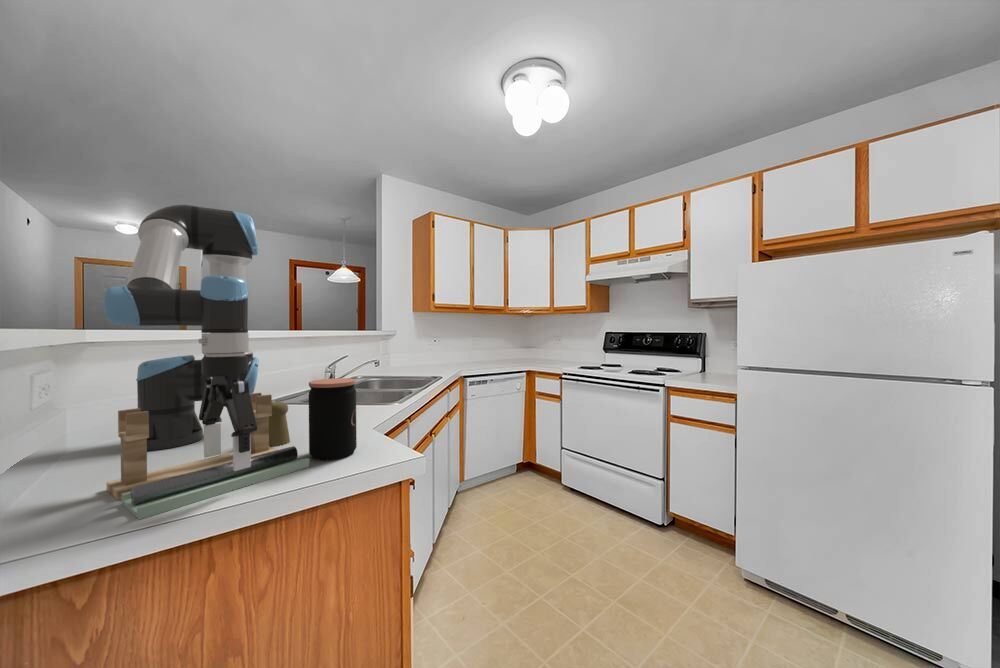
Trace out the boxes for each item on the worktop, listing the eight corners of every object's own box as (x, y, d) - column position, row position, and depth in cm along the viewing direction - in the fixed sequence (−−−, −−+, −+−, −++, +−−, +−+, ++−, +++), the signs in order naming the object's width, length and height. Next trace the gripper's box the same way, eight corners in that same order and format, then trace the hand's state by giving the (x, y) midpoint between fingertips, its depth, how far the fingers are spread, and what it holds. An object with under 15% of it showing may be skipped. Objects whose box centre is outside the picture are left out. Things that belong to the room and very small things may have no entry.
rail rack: (106, 490, 71) (105, 411, 71) (264, 450, 95) (264, 391, 95) (117, 500, 67) (116, 416, 67) (280, 456, 90) (280, 394, 90)
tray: (121, 504, 66) (121, 493, 66) (286, 458, 89) (286, 450, 89) (139, 519, 60) (138, 508, 60) (309, 466, 83) (309, 458, 83)
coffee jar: (361, 455, 91) (360, 381, 91) (312, 464, 85) (311, 385, 84) (351, 444, 99) (350, 377, 99) (306, 452, 93) (305, 380, 93)
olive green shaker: (278, 447, 98) (277, 405, 98) (258, 445, 99) (258, 404, 99) (295, 440, 104) (295, 400, 103) (276, 439, 105) (276, 400, 105)
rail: (136, 504, 62) (134, 486, 63) (131, 505, 64) (129, 487, 65) (298, 458, 85) (296, 445, 85) (291, 460, 87) (289, 447, 87)
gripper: (178, 354, 78) (180, 455, 78) (231, 358, 64) (232, 481, 64) (221, 352, 84) (222, 446, 85) (277, 356, 71) (278, 468, 71)
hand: (226, 462), depth 75 cm, fingers open, 13 cm apart
